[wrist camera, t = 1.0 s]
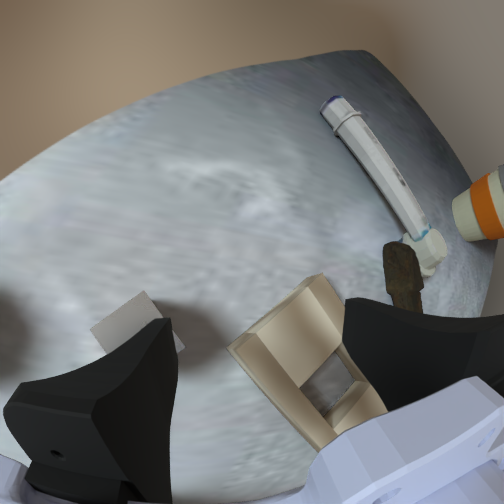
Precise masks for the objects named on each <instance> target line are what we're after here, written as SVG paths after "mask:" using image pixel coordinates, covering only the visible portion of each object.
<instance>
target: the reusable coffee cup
mask: <svg viewBox="0 0 504 504" xmlns="http://www.w3.org/2000/svg"><path fill="white" fill-rule="evenodd" d="M452 210H453V216H454V220H455V223H456V226H457V228H458V230H459V232H460V234H461V236H462V237H463V239H464V240H465V241H467V242H470V241H476V240H482V239H489V240H494V239H500V238H504V164H503V165H500V166H499V168H498V169H497V170H496V171H494V172H493V173H491V174H490V173H488V174H486V175H485V176H483V177H482V178H480V179H479V180H477V181H476V182H474V183H473V184H471V187H470V188H469V189H468V190H466V191H465V192H463V193H462V194H460V195H459V196H457V197H456V198H454V199H453V202H452Z"/></svg>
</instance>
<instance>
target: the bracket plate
mask: <svg viewBox="0 0 504 504" xmlns="http://www.w3.org/2000/svg"><path fill="white" fill-rule="evenodd" d="M344 312H345V307H344V305H343V304H342V302H341V300H340V299H339V297H338V296H337V294H336V293H335V291H334V290H333V288H332V287H331V285H330V284H329V282H328V281H327V279H326V278H325V276H324V275H323V273H320V274H317V275H314V276H311V277H307V278H306V279H305V280H304V281H303V282H302V283H300V284H299V285H298V286H297V287H296V288H295V289H294V290H293V291H292V292H290V293H289V294H288V295H287V296H286V297H285V298H284V299H283V300H281V301H280V302H279V303H278V304H277V305H276V306H275V307H273V308H272V309H271V310H270V311H269V312H268V313H267V314H265V315H264V316H263V317H262V318H261V319H260V320H258V321H257V322H256V323H255V324H254V325H253V326H251V327H250V328H249V329H248V330H247V331H245V332H244V333H243V334H242V335H241V336H239V337H238V338H237V339H236V340H235V341H233V342H232V343H231V344H230V345H229V346H227V347H226V349H227V350H228V351H229V352H230V354H231V355H232V356H233V357H234V359H235V360H236V361H237V362H238V363H239V365H240V366H241V367H242V368H243V370H244V371H245V372H246V373H247V374H248V376H249V377H250V378H251V379H252V380H253V382H254V383H255V384H256V385H257V386H258V388H259V389H260V390H261V391H262V392H263V393H264V394H265V396H266V397H267V398H268V399H269V400H270V401H271V403H272V404H273V405H274V406H275V407H276V408H277V409H278V410H279V412H280V413H281V414H282V415H283V416H284V417H285V418H286V419H287V420H288V421H289V423H290V424H291V425H292V426H293V427H294V428H295V429H296V430H297V431H298V432H299V433H300V434H301V435H302V436H303V438H304V439H305V440H306V441H307V442H308V443H309V444H310V445H311V446H312V447H313V448H314V449H315V450H316V451H317V452H318V453H319V452H320V450H321V449H322V448H323V447H324V446H325V445H326V444H328V443H329V442H330V441H332V440H333V439H334V438H336V437H337V436H338V435H339V434H341V433H342V432H343V431H344V430H347V429H349V428H351V427H353V426H355V425H358V424H360V423H362V422H364V421H366V420H368V419H370V418H373V417H376V416H379V415H381V414H384V413H387V412H388V411H387V409H386V407H385V405H384V403H383V402H382V400H381V398H380V397H379V395H378V394H377V392H376V391H375V389H374V388H373V387H372V385H371V384H370V383H369V381H368V380H367V379H366V378H365V376H364V375H363V374H362V372H361V371H360V370H359V368H358V367H357V366H356V364H355V363H354V362H353V360H352V359H351V358H350V356H349V354H348V352H347V350H346V348H345V346H344V344H343V342H342V333H343V323H344ZM334 350H335V352H336V353H337V355H338V356H339V357H340V359H341V360H342V362H343V363H344V365H345V366H346V368H347V369H348V371H349V372H350V374H351V375H352V376H353V378H354V379H355V381H354V383H353V384H352V385H351V386H350V388H349V389H348V390H347V391H346V392H345V393H344V395H343V396H342V397H341V398H340V399H339V400H338V402H337V403H336V404H335V405H334V406H333V407H332V408H331V409H330V410H329V412H328V413H327V414H326V415H325V416H324V417H322V416H321V414H320V413H319V412H318V411H317V410H316V408H315V407H314V406H313V405H312V404H311V402H310V401H309V400H308V399H307V398H306V396H305V395H304V394H303V393H302V391H301V390H300V389H299V388H300V387H301V386H302V385H303V384H304V382H305V381H306V380H307V379H308V378H309V377H310V376H311V375H312V374H313V373H314V372H315V371H316V370H317V369H318V368H319V367H320V366H321V365H322V364H323V363H324V361H325V360H326V359H327V358H328V357H329V356H330V355H331V354H332V353H333V352H334Z"/></svg>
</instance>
